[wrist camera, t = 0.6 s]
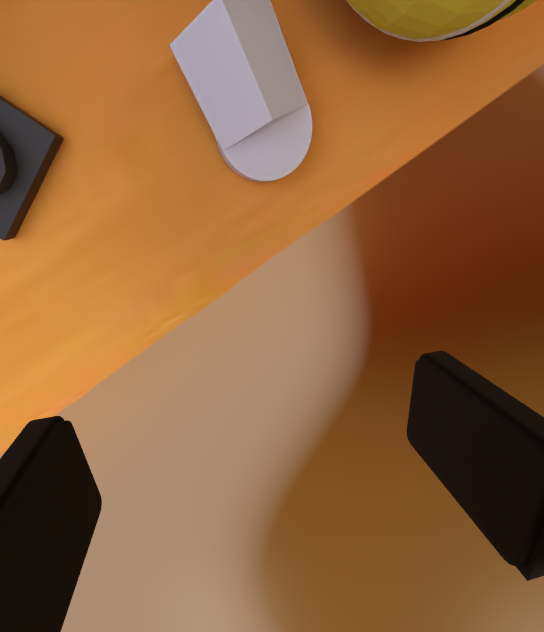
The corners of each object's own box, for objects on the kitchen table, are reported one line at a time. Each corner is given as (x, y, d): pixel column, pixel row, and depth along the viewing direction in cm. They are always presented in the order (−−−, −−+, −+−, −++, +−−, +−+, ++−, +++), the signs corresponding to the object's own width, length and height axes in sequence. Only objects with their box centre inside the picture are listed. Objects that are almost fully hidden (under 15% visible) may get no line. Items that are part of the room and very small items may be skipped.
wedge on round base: (173, 61, 28) (242, 197, 33) (164, 24, 22) (250, 198, 27) (260, 12, 28) (315, 156, 33) (274, -39, 22) (339, 148, 27)
